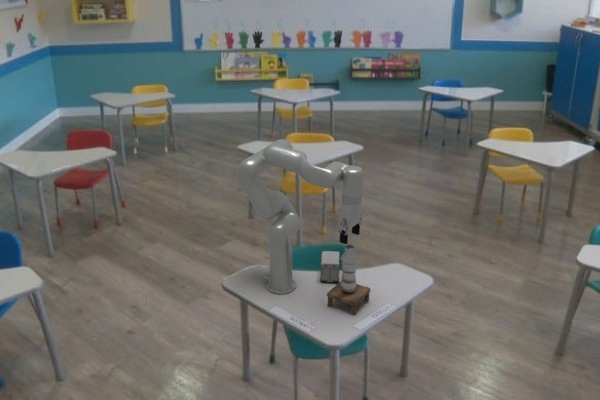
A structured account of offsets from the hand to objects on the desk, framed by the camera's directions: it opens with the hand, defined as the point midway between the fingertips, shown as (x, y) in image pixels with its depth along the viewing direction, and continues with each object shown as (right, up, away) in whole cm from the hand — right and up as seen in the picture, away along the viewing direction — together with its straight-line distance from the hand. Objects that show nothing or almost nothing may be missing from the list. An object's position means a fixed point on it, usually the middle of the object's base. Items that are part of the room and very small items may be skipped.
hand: (349, 238), depth 223 cm
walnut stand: (+1, -27, +11) cm, 30 cm away
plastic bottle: (0, -22, +9) cm, 24 cm away
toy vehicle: (-6, -19, +34) cm, 39 cm away
